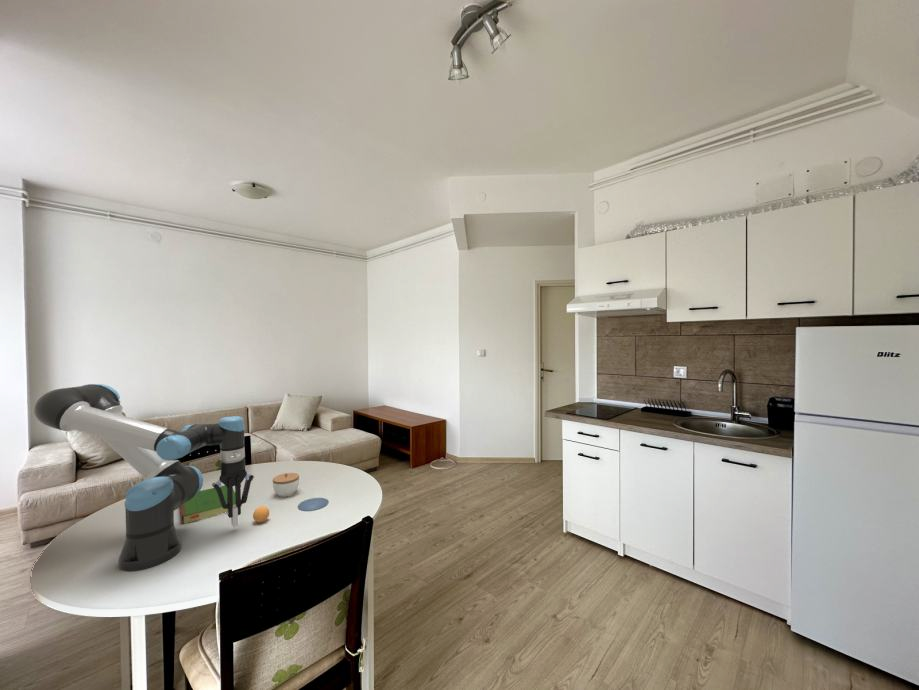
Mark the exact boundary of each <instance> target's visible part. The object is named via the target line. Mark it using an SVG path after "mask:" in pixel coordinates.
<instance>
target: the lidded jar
mask: <svg viewBox="0 0 919 690" xmlns="http://www.w3.org/2000/svg"><path fill="white" fill-rule="evenodd" d="M299 484H300V474H298V473H296V472H285V473H282V474H278V475H276V476H274V477H273V478H272V487H273V491H274V493H275V494H276V495H277V496H278V497H279V496H280V498H287V496H288V497H291V496H293V495H294V494H295V492H296V491H297V490H298V488H299Z"/></svg>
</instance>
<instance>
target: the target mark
mask: <svg viewBox="0 0 919 690" xmlns="http://www.w3.org/2000/svg"><path fill="white" fill-rule="evenodd" d="M329 503H330V502H329V499H327V498H326V497H325V498H324V497H313V498H308V499H305V500H303V501H301V502H300V503H298V505H297V509H298V510H300V511H303V512H312V511H317V510H321V509H323V508H325V507H326V506H328V504H329Z"/></svg>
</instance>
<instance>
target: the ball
mask: <svg viewBox="0 0 919 690" xmlns="http://www.w3.org/2000/svg"><path fill="white" fill-rule="evenodd" d="M269 516H270V510H269V508H268V507H267V506H264V505H262V506H259V507H257V508H256V509H255V510H254V511H253V513H252V518H253V520H254V521H255V522H257V523H263V522H265V521H267V520H268V518H269Z"/></svg>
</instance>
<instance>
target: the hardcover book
mask: <svg viewBox="0 0 919 690" xmlns="http://www.w3.org/2000/svg"><path fill="white" fill-rule="evenodd" d="M220 488H221V490H222V493H223V496H224V499H225V502H226V504H227V487H226V486H225V485H221V487H220ZM232 491H233V506H235V505H236V502H235V489H233V490H232ZM179 510H180V511H181V512H180V519H181V525H182V524H183V525H185V524H189V523H193V522H196V521H195V520H197V521H199V520H198V519H201V520H203V519H202V518H205V519H207V518H206V517H208V518H211V517H210V516H212V517H215V516H214V515H216V516H219V515H218V514H220V515H222V514H221V513H224V514H226V513H225V512H228V509H223V507H222V506H221V503H220V500H219V497H218V494H217V491H216V489H215V488H214V487H211V488H207V489H203V490H202V489H201V490H200V491H199V492H198V494H196V495H195V496H194V497H193V498H192V499H191V500H190V501H187V502H186V503H184V504H183V505H182V506H180V507H179ZM192 521H193V522H192ZM188 522H189V523H188Z"/></svg>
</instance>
